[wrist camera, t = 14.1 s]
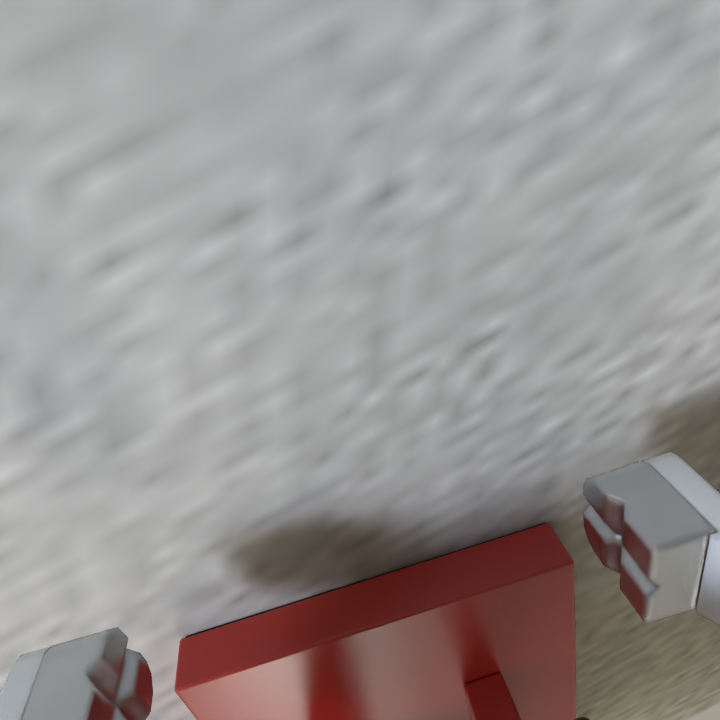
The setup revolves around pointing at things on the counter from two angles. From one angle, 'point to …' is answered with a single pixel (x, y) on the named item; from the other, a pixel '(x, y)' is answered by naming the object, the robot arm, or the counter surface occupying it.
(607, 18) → the counter surface
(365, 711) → the red lever mount bracket
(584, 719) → the lever
